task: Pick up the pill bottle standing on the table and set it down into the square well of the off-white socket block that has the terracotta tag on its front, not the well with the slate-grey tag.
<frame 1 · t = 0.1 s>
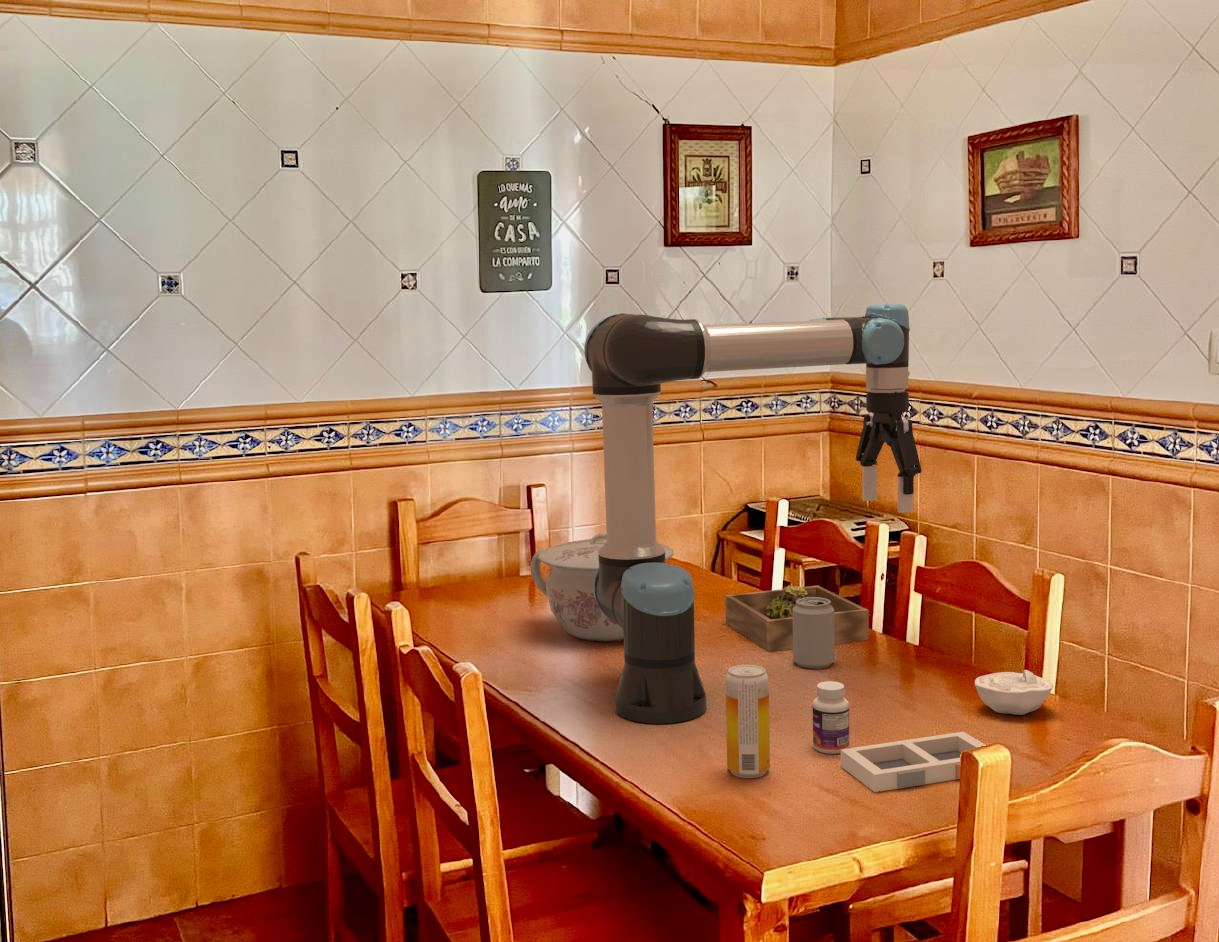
hand: (887, 506, 227), 28 cm above the table, fingers open, 13 cm apart
can: (813, 665, 226), on the table
cell model: (1012, 712, 198), on the table
cactus frame: (794, 631, 248), on the table
pill bottle: (831, 749, 185), on the table
green leafy plant: (796, 634, 248), resting in cactus frame
socket block: (920, 769, 176), on the table
chamber pot: (607, 633, 251), on the table
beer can: (748, 772, 177), on the table
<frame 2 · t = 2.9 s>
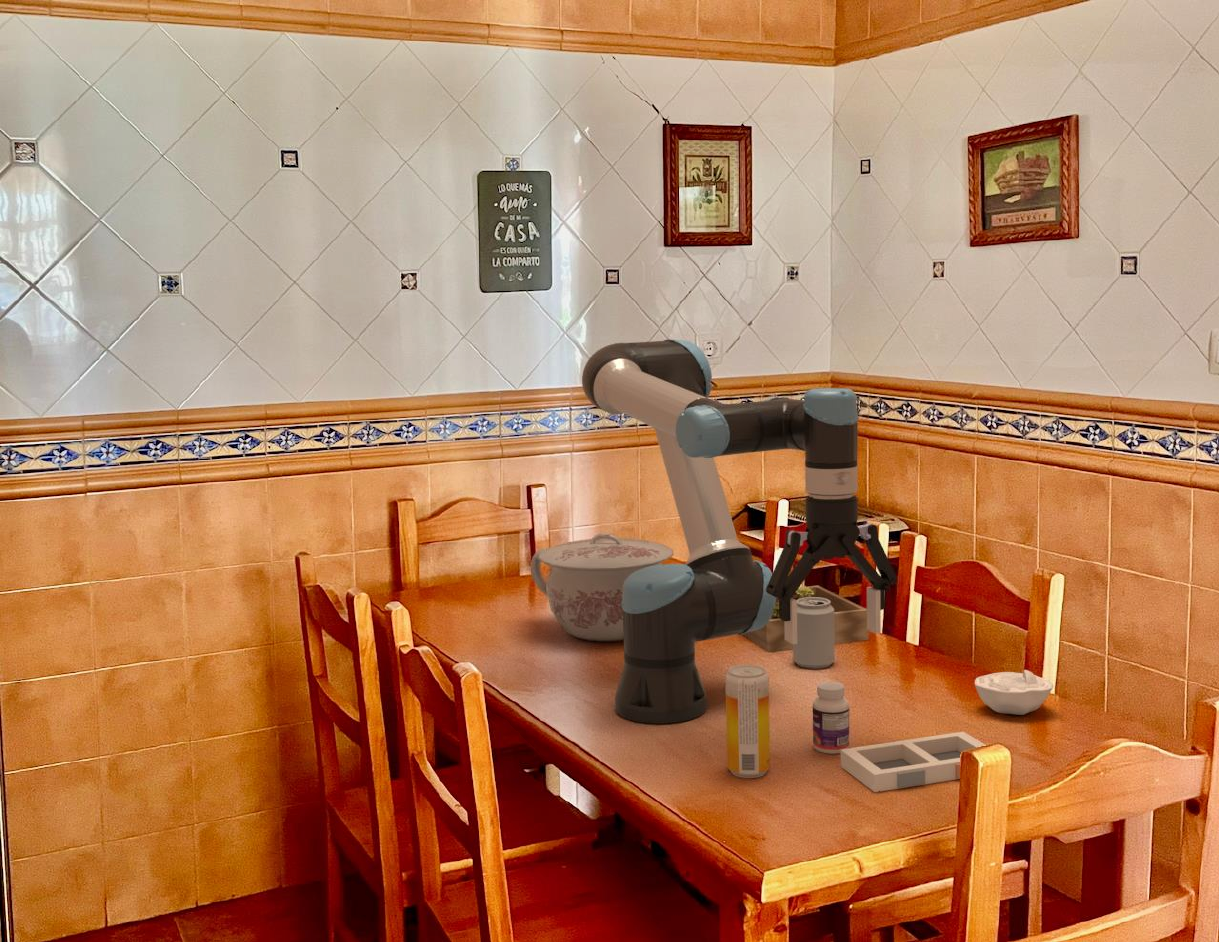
hand: (832, 636, 183), 17 cm above the table, fingers open, 13 cm apart
green leafy plant: (802, 634, 248), resting in cactus frame
everything else where it was.
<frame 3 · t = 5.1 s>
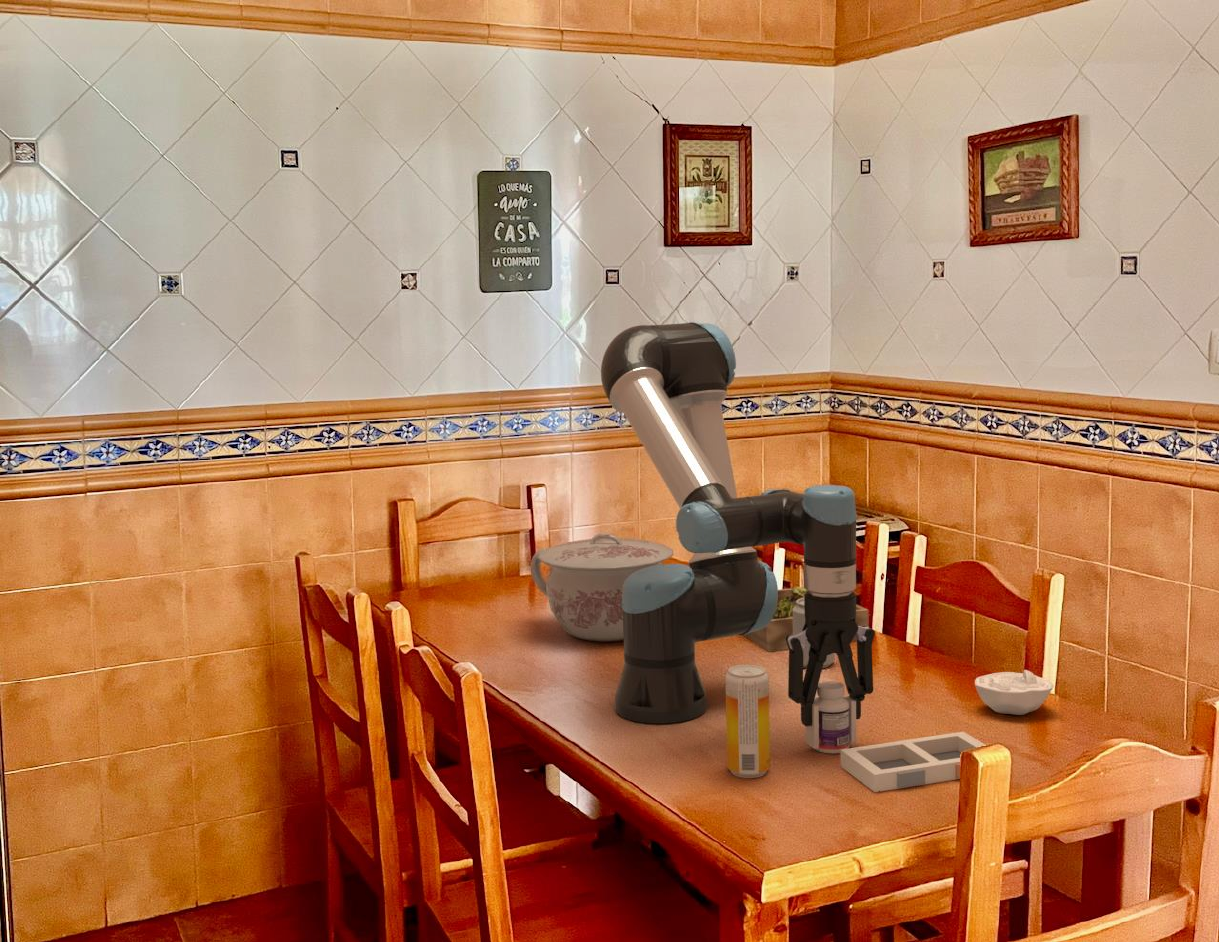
hand: (831, 742, 185), 1 cm above the table, fingers closed on pill bottle, 5 cm apart
pill bottle: (831, 749, 185), on the table, touching gripper
everything else where it was.
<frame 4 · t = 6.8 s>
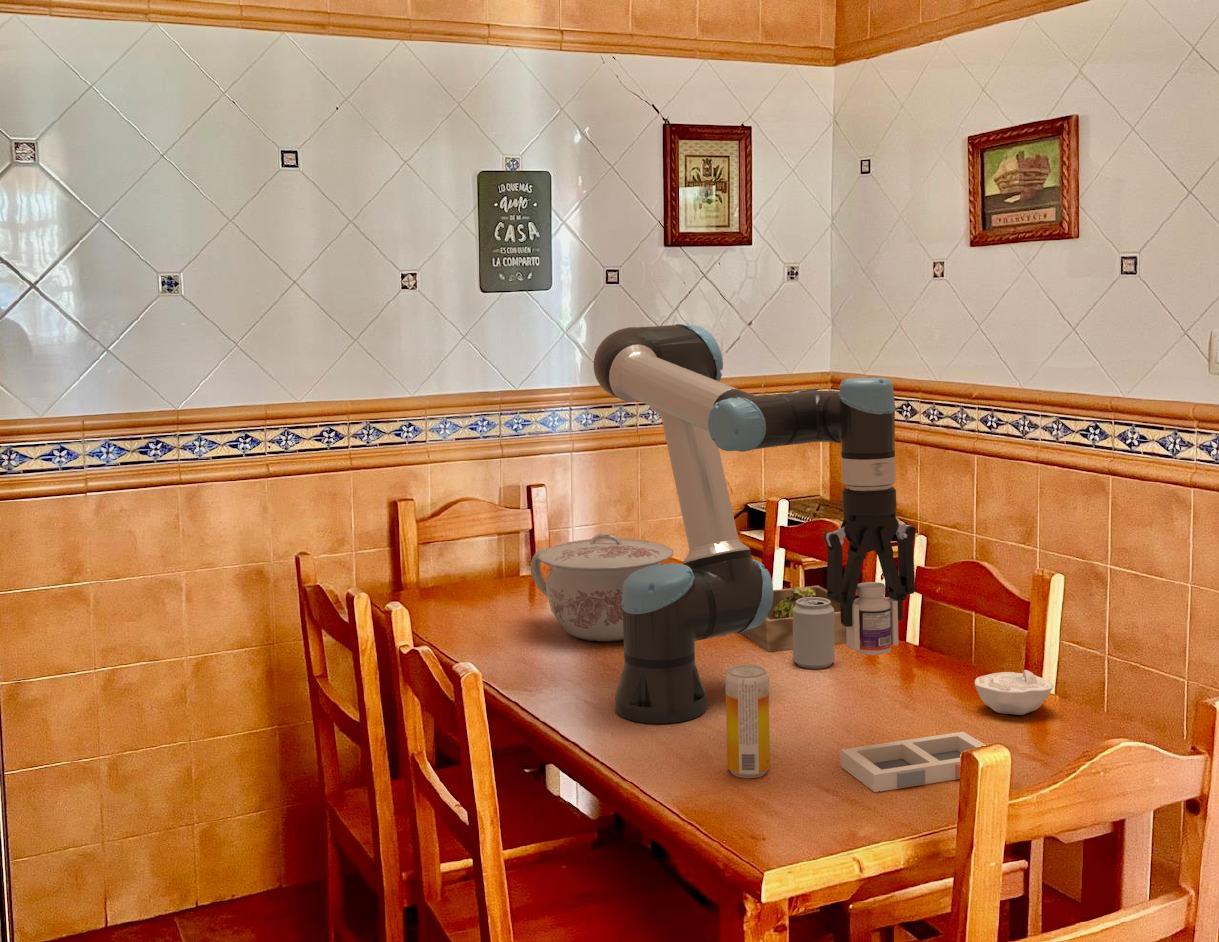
hand: (872, 645, 179), 17 cm above the table, fingers closed on pill bottle, 5 cm apart
pill bottle: (872, 652, 179), point 16 cm above the table, touching gripper
everything else where it was.
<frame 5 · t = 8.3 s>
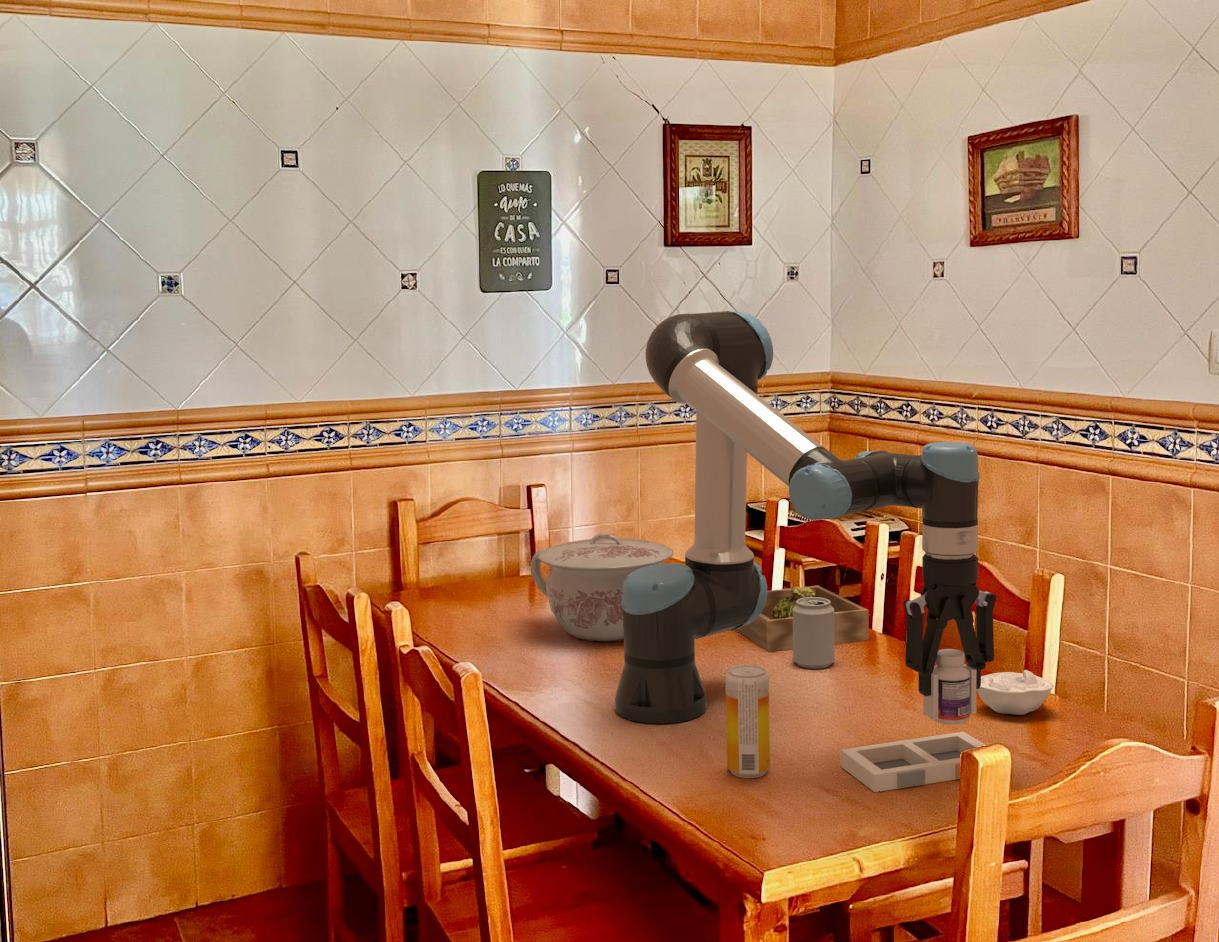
hand: (949, 713, 176), 8 cm above the table, fingers closed on pill bottle, 5 cm apart
pill bottle: (949, 720, 176), point 7 cm above the table, touching gripper
everything else where it was.
when the fingers open (4 cm above the table, at t = 9.4 s): pill bottle drops 3 cm, resting on socket block.
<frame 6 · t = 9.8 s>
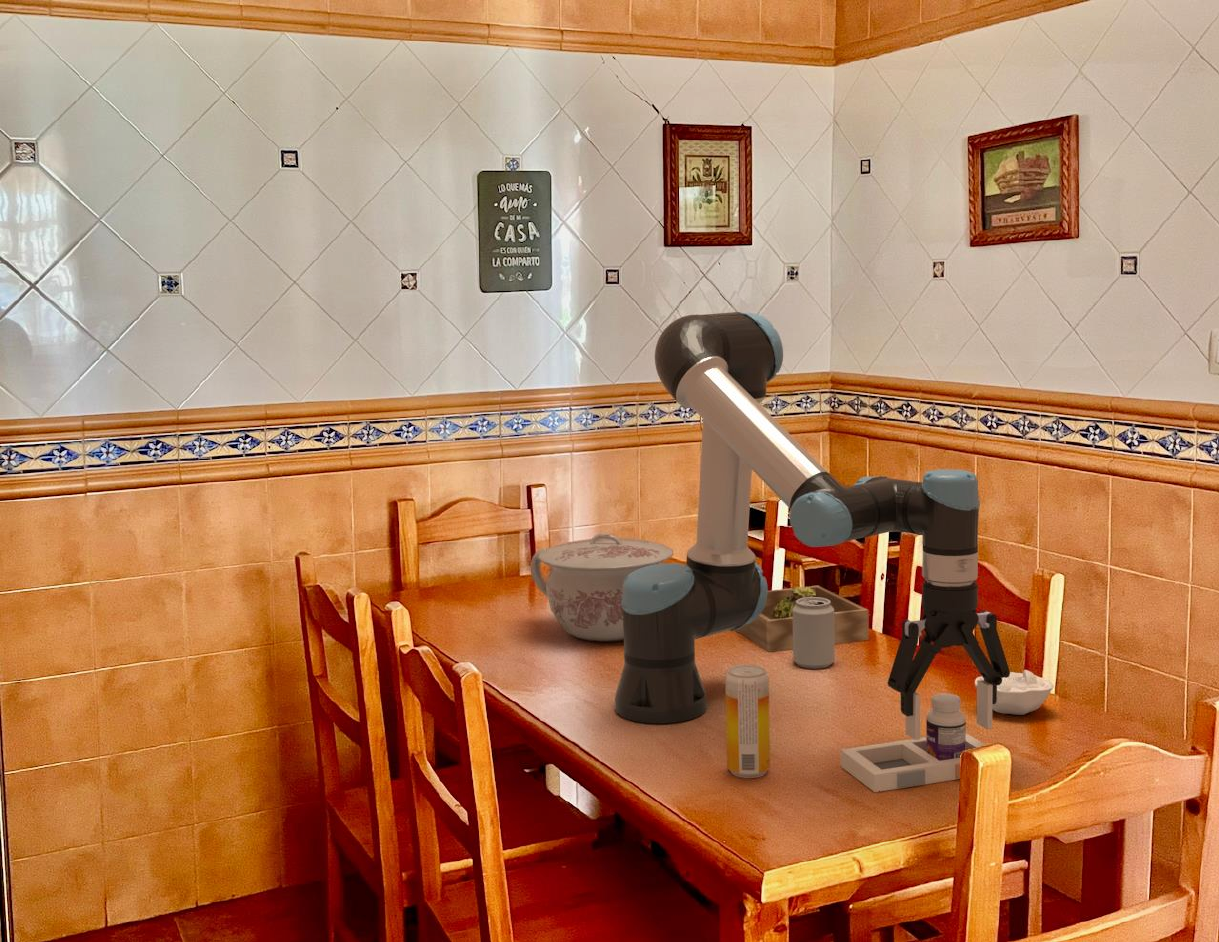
hand: (948, 731, 176), 5 cm above the table, fingers open, 11 cm apart
pill bottle: (945, 764, 177), resting on socket block
everything else where it was.
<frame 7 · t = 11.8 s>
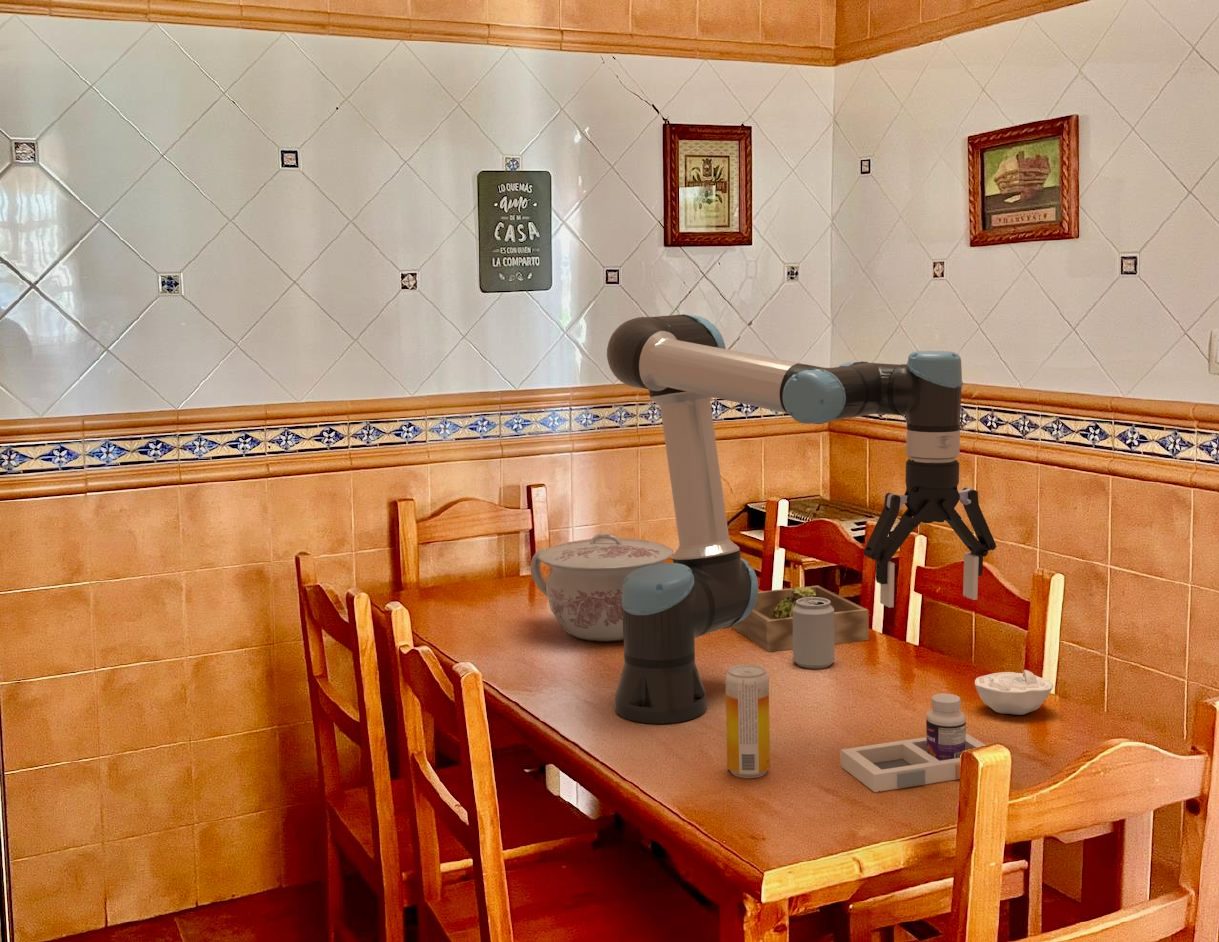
hand: (928, 601, 182), 22 cm above the table, fingers open, 13 cm apart
nothing on the table moved.
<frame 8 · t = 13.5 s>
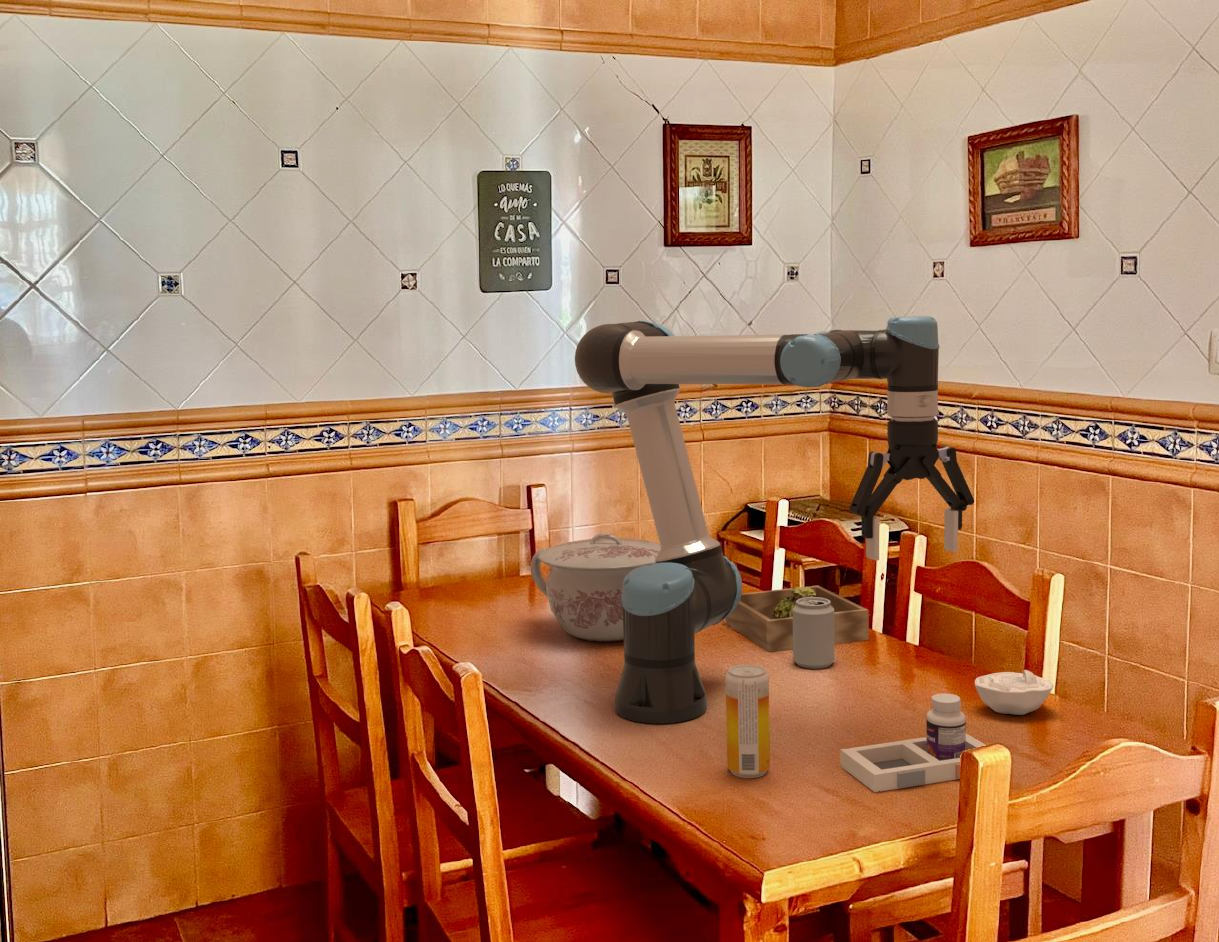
hand: (912, 555, 191), 27 cm above the table, fingers open, 13 cm apart
nothing on the table moved.
at the end: pill bottle 0.5 cm from the target spot on the socket block, point 0.1 cm above the socket block's base; pill bottle tilted 0°; the gripper is holding nothing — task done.
